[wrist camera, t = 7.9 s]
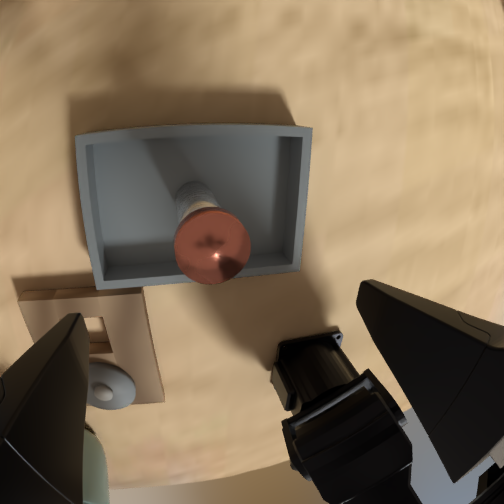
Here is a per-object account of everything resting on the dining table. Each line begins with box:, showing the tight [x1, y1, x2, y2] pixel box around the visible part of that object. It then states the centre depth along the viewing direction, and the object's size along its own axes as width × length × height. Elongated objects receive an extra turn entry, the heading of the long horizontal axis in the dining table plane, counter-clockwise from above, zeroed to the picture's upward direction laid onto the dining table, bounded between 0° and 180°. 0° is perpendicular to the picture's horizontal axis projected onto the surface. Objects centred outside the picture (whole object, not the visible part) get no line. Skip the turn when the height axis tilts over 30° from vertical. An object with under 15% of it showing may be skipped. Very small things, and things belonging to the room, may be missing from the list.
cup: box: [83, 429, 110, 504], centre depth 23 cm, size 8×8×10 cm
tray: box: [75, 123, 313, 290], centre depth 19 cm, size 14×10×2 cm
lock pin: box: [174, 181, 251, 284], centre depth 16 cm, size 3×3×8 cm
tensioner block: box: [17, 286, 165, 410], centre depth 22 cm, size 10×12×3 cm
